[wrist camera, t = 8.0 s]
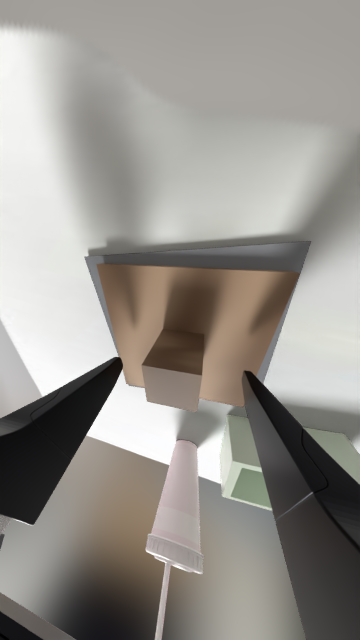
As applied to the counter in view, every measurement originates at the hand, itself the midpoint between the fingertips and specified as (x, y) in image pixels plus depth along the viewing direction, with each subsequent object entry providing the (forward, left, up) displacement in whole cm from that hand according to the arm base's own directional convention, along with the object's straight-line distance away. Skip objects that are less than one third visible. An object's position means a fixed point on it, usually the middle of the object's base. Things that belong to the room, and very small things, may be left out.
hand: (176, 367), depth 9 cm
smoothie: (+1, +22, -4) cm, 22 cm away
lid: (0, 0, -3) cm, 3 cm away
